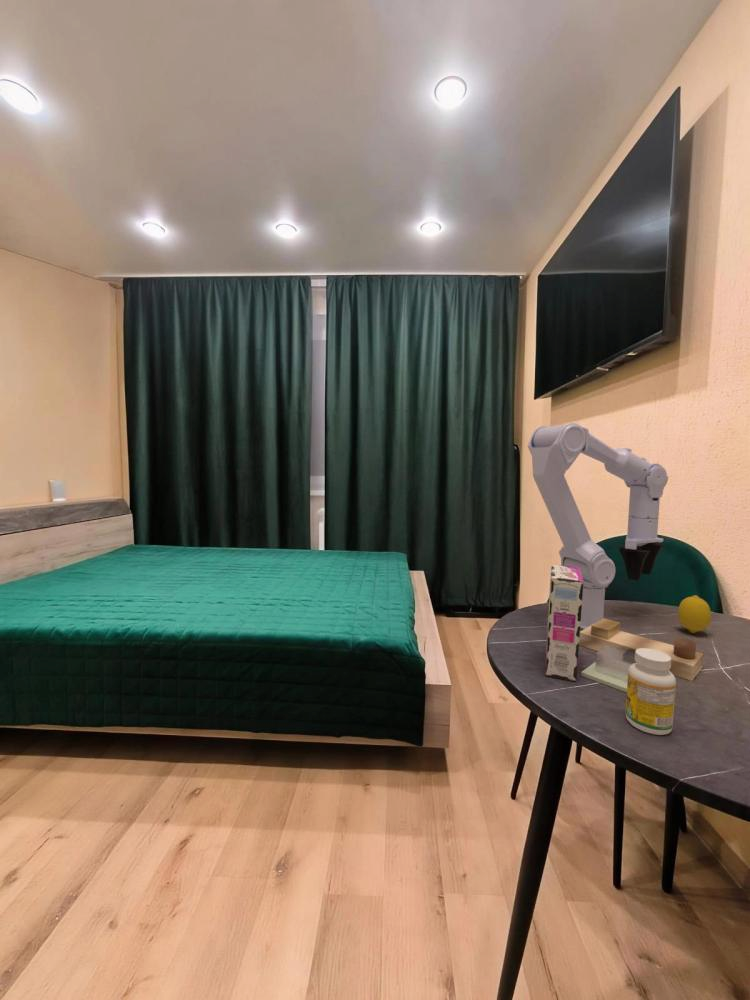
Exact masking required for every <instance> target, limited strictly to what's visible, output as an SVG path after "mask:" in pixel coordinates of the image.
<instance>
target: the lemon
mask: <svg viewBox="0 0 750 1000" xmlns="http://www.w3.org/2000/svg"><path fill="white" fill-rule="evenodd" d="M677 618H678V621H679V623H680V625H682V626H683V627H684V628H685V629H687V630H688V631H689V632H690V633H691V634H696V633H697V632H702V631H705V630H706V629H707V628H708V627H709V626H710V624H711V621H712V611H711V608H710V605H709V603H708V602H707V601H706V600H704V599H703V598H701V597H700V596H698V595H692V596H687V597H686V598H684V599H682V600H681V601H680V603H679V606H678V609H677Z"/></svg>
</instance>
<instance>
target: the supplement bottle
mask: <svg viewBox="0 0 750 1000" xmlns="http://www.w3.org/2000/svg"><path fill="white" fill-rule="evenodd" d="M635 661H636V663H634V664H632V665H631V666H630V667H629V669H628V682H627V692H626V696H625V697H626V699H625V701H626V702H625V718H626V720H627V721H628V723H630V724H631V726H633V727H635V728H636V729H638V730H639V731H642V732H644V733H647V734H650V735H655V736H656V735H657V736H664V735H668V734H670V733H671V732H672V731H673V727H674V726H673V725H674V713H675V700H676V699H675V698H676V687H677V686H676V685H677V680H676V676H675V675H673V674H672V673H671V672H670V671H669V670H670V668H671V657H670V656H669V655H667V654H665V653H663V652H660V651H657V650H653V649H647V648H639V649H637V650H636V651H635Z"/></svg>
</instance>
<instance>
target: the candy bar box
mask: <svg viewBox="0 0 750 1000" xmlns="http://www.w3.org/2000/svg"><path fill="white" fill-rule="evenodd" d="M550 568H551V569H550V578H549V579H550V580H549V581H550V583H549V595H548V597H549V598H548V609H547V610H548V611H547V625H546V627H547V628H546V629H547V630H546V644H545V645H546V646H545V672H544V673H545V676H548V677H552V678H556V679H562V680H566V681H571V682H572V681H573V682H577V680H578V667H579V665H578V664H579V651H580V645H579V640H580V631H581V628H580V626H581V611H582V597H583V583H584V582H583V579H582V576H581V572H580V568H578V567H570V566H561V564H560V565H558V564H552V565H551V567H550Z"/></svg>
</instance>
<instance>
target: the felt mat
mask: <svg viewBox="0 0 750 1000" xmlns="http://www.w3.org/2000/svg"><path fill="white" fill-rule="evenodd" d="M595 662H596V661H594V662H593V663H592V664H591V665H589V666H588V667H586V668H585V669H584V670H582V671H581V672H580V676H581V677H583V678H586V679H589V680H591V681H594V682H597V683H600V684H603V685H606V686H608V687H610V688H614V689H616V690H618V691H622V692H625V693H627V682H626V681H623V680H620V679H617V678H614V677H611V676H609V675H606V674H603V673H600V672H597V671H595Z"/></svg>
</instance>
